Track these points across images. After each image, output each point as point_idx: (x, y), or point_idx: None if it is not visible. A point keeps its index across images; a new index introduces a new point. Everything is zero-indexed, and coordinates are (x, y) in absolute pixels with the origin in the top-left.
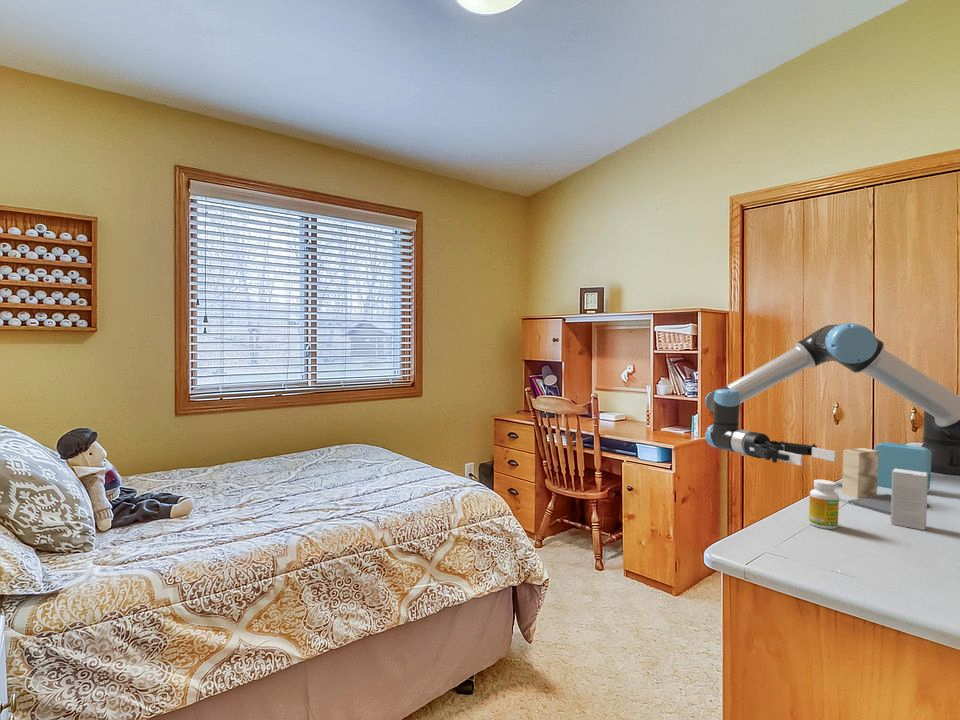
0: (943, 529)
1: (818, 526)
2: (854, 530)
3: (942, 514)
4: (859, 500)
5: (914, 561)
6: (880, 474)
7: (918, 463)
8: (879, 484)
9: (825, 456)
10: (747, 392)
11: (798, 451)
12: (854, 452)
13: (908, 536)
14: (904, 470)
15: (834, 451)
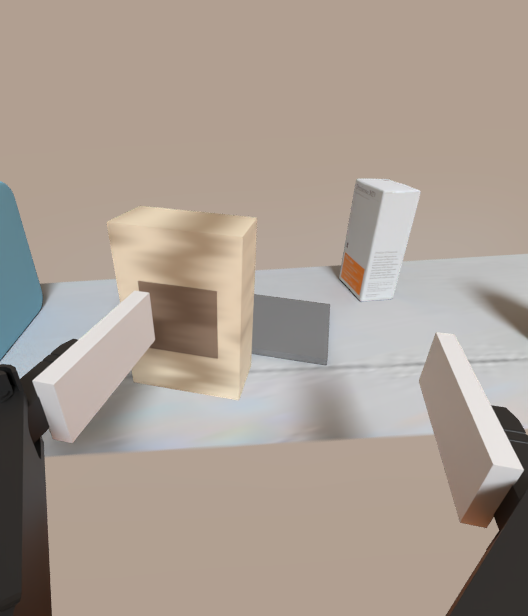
0: (328, 270)
1: None
2: (506, 316)
3: None
4: (293, 347)
5: (512, 270)
6: None
7: (12, 231)
8: None
9: (128, 355)
10: None
11: (38, 521)
12: (254, 224)
13: (424, 282)
14: (385, 186)
15: (140, 294)
